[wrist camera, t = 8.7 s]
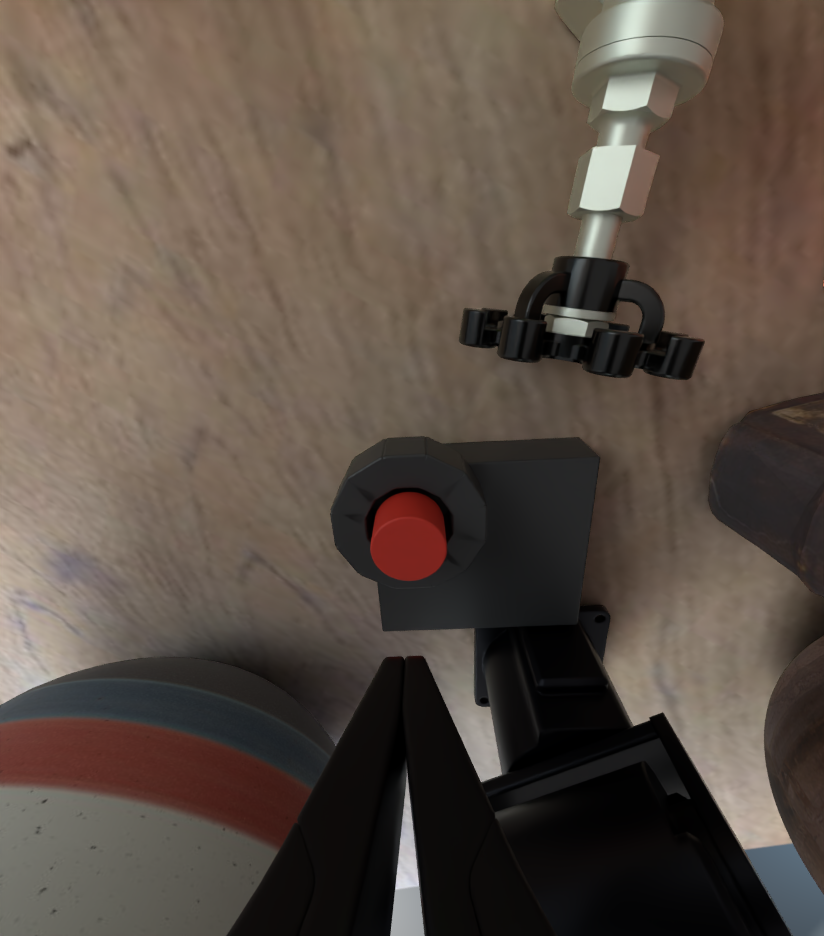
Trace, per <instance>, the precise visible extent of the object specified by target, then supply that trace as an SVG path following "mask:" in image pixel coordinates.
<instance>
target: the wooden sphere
mask: <svg viewBox="0 0 824 936" xmlns="http://www.w3.org/2000/svg"><path fill="white" fill-rule="evenodd" d="M764 750H765V760H766V767H767V772H768V777H769V782H770V786H771V789H772V793H773V796H774V799H775V802H776V805H777V808H778V811H779V813H780V816H781V818H782V821H783V823H784V825H785V828H786V830H787V832H788V834H789V836H790V838H791V840H792V842H793V844H794V846H795V848H796V850H797V852H798V854H799V855H800V857H801V859H802V861H803V863H804V864H805V866H806V868H807V869H808V871H809V873H810V874H811V876H812V877H813V879H814V880H815V882H816V884H817V885H818V887H819V888H820V890H821V891H822V893H823V894H824V636H822V637H820V638H819V639H817V640H816V641H814V642H813V643H812V644H810V645H809V646H808V647H806V648H805V649H804V650H803V651H802V652H801V653H799V654H798V655H797V656H796V657H795V658H794V660H793V661H792V662H791V663H790V664H789V665H788V667H787V668H786V669H785V671H784V672H783V674H782V675H781V677H780V679H779V680H778V682H777V684H776V686H775V688H774V691H773V693H772V696H771V698H770V702H769V705H768V709H767V714H766V719H765V729H764Z"/></svg>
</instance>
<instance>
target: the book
mask: <svg viewBox="0 0 824 936" xmlns="http://www.w3.org/2000/svg"><path fill="white" fill-rule="evenodd" d="M708 501H709V506H710V508H711V511H712V513H713V514H714V515H715V517H716V518H717V519H718V520H719V521H721V522H722V523H724V524H725V525H727V526H728V527H730V528H731V529H733V530H734V531H735V532H737V533H738V534H740V535H741V536H743V537H744V538H746V539H747V540H749V541H750V542H752V543H753V544H755V545H756V546H757V547H759V548H760V549H762V550H763V551H764V552H766V553H767V554H768V555H770V556H771V557H773V558H774V559H775V560H777V561H778V562H779V563H781V564H782V565H784V566H785V567H786V568H788V569H789V570H790V571H792V572H793V573H795V574H796V575H797V576H798V577H799V578H800V579H801V581H802V582H803V583H804V584H805V585H806V587H807V588H808V589H809V590H810V591H811V592H813V593H815V594H818V595H820V596H822V597H824V393H820V394H816V395H811V396H806V397H801V398H797V399H792V400H789V401H785V402H782V403H778V404H774V405H771V406H767V407H764V408H760V409H757V410H753V411H750V412H749V413H748V414H747V415H746V416H745V417H744V419H743V420H742V421H741V422H740V423H737V424H735V425H732V426H731V427H730V428H729V430H728V431H727V433H726V434H725V436H724V437H723V439H722V441H721V443H720V446H719V448H718V451H717V454H716V457H715V460H714V464H713V468H712V471H711V475H710V485H709V496H708Z"/></svg>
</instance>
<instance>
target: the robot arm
mask: <svg viewBox="0 0 824 936" xmlns="http://www.w3.org/2000/svg"><path fill="white" fill-rule="evenodd" d="M598 615H600V616H599V617H596V616H598ZM609 623H610V615H609V613H608V611H607V610H606V608H605V607H603V606H601V605H588V606H580V608H579V615H578V622H577V624H576V625H552V626H523V627H495V628H475V645H474V696H475V702H476V704H477V705H479V706H481V707H490V708H491V714H492V720H493V725H494V731H495V737H496V742H497V748H498V754H499V759H500V765H501V771H502V775H500V776H498V777H495V778H492V779H489V780H487V781H484V782H481V781H480V779H479V777H478V775H477V773H476V770H475V768H474V766H473V764H472V762H471V759H470V757H469V755H468V753H467V750H466V748H465V746H464V744H463V742H462V739H461V737H460V735H459V733H458V731H457V728H456V726H455V724H454V722H453V720H452V717H451V715H450V713H449V711H448V708H447V706H446V704H445V702H444V700H443V697H442V695H441V693H440V691H439V689H438V686H437V684H436V682H435V680H434V677H433V675H432V673H431V671H430V669H429V666H428V664H427V662H426V660H425V658H424V657H423V656H407V657H406V658H405V660H404V658H403V657H401V656H398V657H386V658H385V659H384V660H383V662H382V664H381V666H380V667H379V669H378V671H377V673H376V675H375V677H374V678H373V680H372V682H371V684H370V686H369V687H368V689H367V691H366V693H365V695H364V697H363V698H362V700H361V702H360V704H359V706H358V708H357V709H356V711H355V713H354V715H353V717H352V718H351V720H350V722H349V724H348V726H347V728H346V729H345V731H344V733H343V735H342V737H341V739H340V740H339V742H338V744H337V746H336V748H335V750H334V751H333V753H332V755H331V757H330V759H329V760H328V762H327V764H326V766H325V768H324V770H323V771H322V773H321V775H320V777H319V779H318V781H317V782H316V784H315V786H314V788H313V790H312V792H311V793H310V795H309V797H308V799H307V801H306V802H305V804H304V806H303V808H302V810H301V812H300V813H299V815H298V817H297V822H298V823H294V824H293V826H292V828H291V829H290V831H289V833H288V835H287V837H286V839H285V840H284V842H283V844H282V846H281V848H280V849H279V851H278V853H277V855H276V856H275V858H274V860H273V862H272V863H271V865H270V867H269V868H268V870H267V872H266V874H265V875H264V877H263V879H262V881H261V882H260V884H259V885H258V887H257V889H256V890H255V892H254V893H253V895H252V896H251V898H250V900H249V901H248V903H247V904H246V906H245V907H244V909H243V911H242V912H241V914H240V915H239V917H238V918H237V920H236V921H235V923H234V925H233V926H232V928H231V929H230V931H229V932H228V934H227V935H226V936H390V931H391V923H392V913H393V904H394V893H395V884H396V875H397V865H398V856H399V846H400V836H401V827H402V817H403V808H404V798H405V788H406V776H407V773H408V783H409V793H410V802H411V812H412V821H413V830H414V840H415V849H416V859H417V868H418V878H419V887H420V895H421V906H422V915H423V924H424V934H425V936H793V935H792V933H791V932H790V929H789V928H788V926H787V924H786V923H785V921H784V919H783V917H782V916H781V914H780V912H779V910H778V909H777V907H776V905H775V903H774V902H773V900H772V898H771V896H770V894H769V893H768V891H767V889H766V887H765V886H764V884H763V882H762V881H761V879H760V877H759V875H758V873H757V872H756V870H755V868H754V866H753V865H752V863H751V861H750V859H749V858H748V856H747V854H746V852H745V851H744V849H743V847H742V846H741V844H740V842H739V840H738V839H737V837H736V835H735V834H734V832H733V830H732V828H731V827H730V825H729V823H728V822H727V820H726V818H725V816H724V815H723V813H722V811H721V810H720V808H719V806H718V804H717V803H716V801H715V799H714V798H713V796H712V794H711V792H710V791H709V789H708V787H707V786H706V784H705V782H704V780H703V779H702V777H701V775H700V774H699V772H698V770H697V769H696V767H695V765H694V764H693V762H692V760H691V759H690V757H689V755H688V753H687V752H686V750H685V748H684V747H683V745H682V743H681V742H680V740H679V738H678V737H677V735H676V733H675V732H674V730H673V728H672V727H671V725H670V723H669V722H668V720H667V718H666V717H665V715H664V713H660V714H657V715H655V716H652V717H649V719H650V721H647V722H644V723H642V724H639V725H636V726H633V724H632V722H631V720H630V718H629V716H628V714H627V712H626V710H625V708H624V706H623V704H622V702H621V700H620V698H619V696H618V694H617V692H616V690H615V688H614V686H613V684H612V682H611V680H610V678H609V676H608V674H607V672H606V670H605V667H604V665H603V657H604V651H605V646H606V640H607V635H608V629H609Z"/></svg>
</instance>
